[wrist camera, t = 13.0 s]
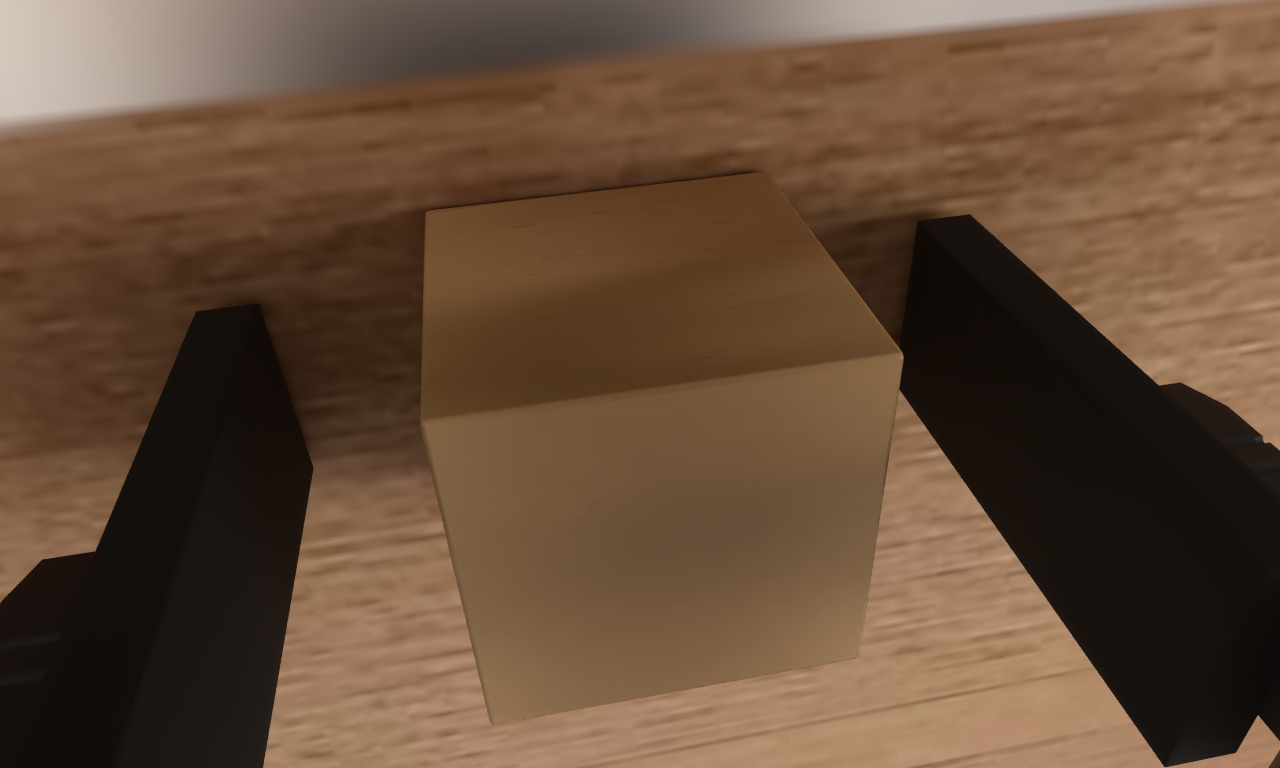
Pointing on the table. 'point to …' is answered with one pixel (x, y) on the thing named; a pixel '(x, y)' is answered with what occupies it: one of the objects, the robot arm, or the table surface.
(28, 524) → the table surface
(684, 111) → the table surface
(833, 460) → the block
